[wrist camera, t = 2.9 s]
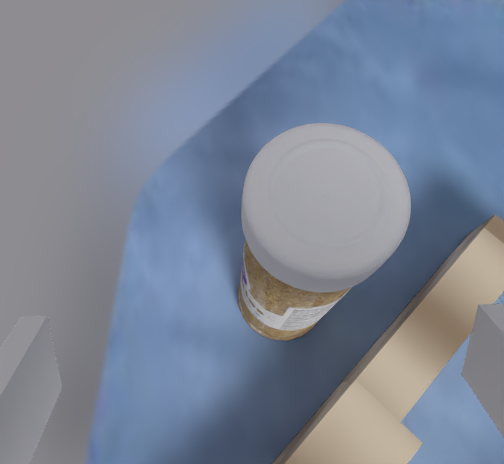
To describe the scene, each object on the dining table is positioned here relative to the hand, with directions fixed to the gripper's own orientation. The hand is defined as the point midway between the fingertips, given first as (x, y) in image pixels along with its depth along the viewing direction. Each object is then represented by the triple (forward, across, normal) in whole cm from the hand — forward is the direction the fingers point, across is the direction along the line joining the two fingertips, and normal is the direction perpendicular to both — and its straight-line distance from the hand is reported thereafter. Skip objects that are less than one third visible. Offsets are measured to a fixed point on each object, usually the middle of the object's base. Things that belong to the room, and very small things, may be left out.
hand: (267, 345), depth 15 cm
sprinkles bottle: (+9, +2, -4) cm, 11 cm away
